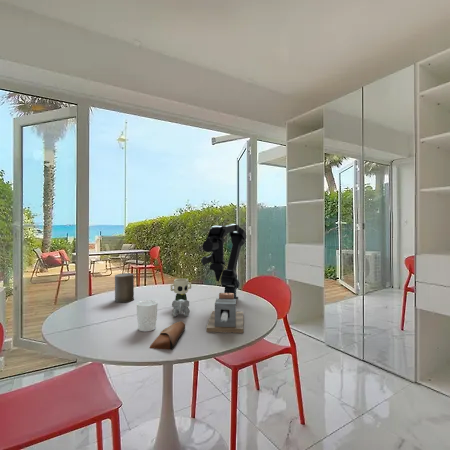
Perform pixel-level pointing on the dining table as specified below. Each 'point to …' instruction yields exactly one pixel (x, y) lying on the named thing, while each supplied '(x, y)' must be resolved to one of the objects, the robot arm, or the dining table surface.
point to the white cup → (147, 315)
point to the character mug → (181, 288)
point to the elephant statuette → (180, 307)
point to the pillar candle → (124, 287)
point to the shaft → (225, 312)
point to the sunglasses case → (168, 336)
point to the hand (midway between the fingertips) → (217, 281)
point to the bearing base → (226, 329)
